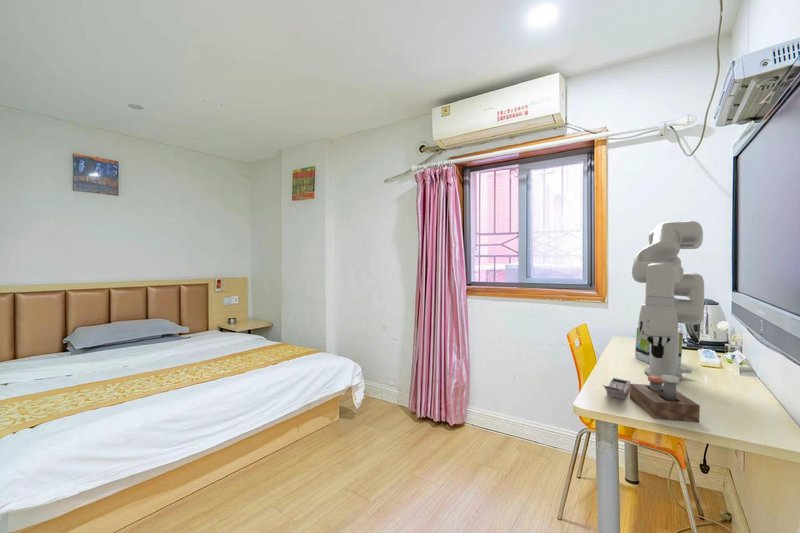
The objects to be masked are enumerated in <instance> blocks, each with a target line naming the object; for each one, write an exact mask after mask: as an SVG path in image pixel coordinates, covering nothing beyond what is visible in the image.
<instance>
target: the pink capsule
mask: <svg viewBox="0 0 800 533" xmlns="http://www.w3.org/2000/svg"><path fill="white" fill-rule="evenodd" d="M647 381H649V385H650V390H651V391H658V392H662V386H663V385H664V381H663V380H661V377H660V376H654V375H647Z"/></svg>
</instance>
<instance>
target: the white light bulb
mask: <svg viewBox="0 0 800 533" xmlns="http://www.w3.org/2000/svg"><path fill="white" fill-rule="evenodd" d="M661 380H663V381H664V383H663V384H662V386H663V399H664V400H665V401H676V391H677V385H678V384H679V383H680V380H679V377H676V376H673V375H667V374H663V375H661Z"/></svg>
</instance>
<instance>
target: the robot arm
mask: <svg viewBox="0 0 800 533" xmlns="http://www.w3.org/2000/svg"><path fill="white" fill-rule="evenodd" d="M703 240H704V230H703V227H702V225H701V224H700V223H699V222H698V221H695V220H694V221H693V220H685V221H684V220H683V221H681V220H680V221H679V220H678V221H665V222H662V223H659V224H657V226H655V228H654V229H653V230H651V231H650V232H649V233H648V243H649V245H647V246H646V247H644V248H643V249H641V250H640V251H638V252H637V254H635V257H634V260H633V264H632V269H631V275H632V278H633V281H635V282H637V283H640V284H645V300H644V302H645V304H644V303H642V304H641V307H640V312H639V317H638V323H637V326H638V327H637V328H638V331H639V332H640V335H639V337H640V338H642V339H645V340H648V341H649V342H650V358H649V363H648V364H649V367H647V368H645V369H644V374H645V375H647V376H649V375H654V376H660V377H661V375H663V374H667V375H673V376H676V377H679V381H680V380H683V378H684V377H683V375H682V374H684V373H685V374H693V371H692V368H687V367H684V366H680V365H679V364H678V356H679V333H678V332H679V324H684V325H700V324H701V323H702V322H703V320H704V313H705V312H704V311H705V280H704V277H703V276H702V275H701V274H700V273H696V272H685V271H684V268H683V266H682V260H681V258H680V257H679V256H678V255H679V253H680V251H681V250H696V249H699V248H700V247H701V246H702V244H703ZM678 297H686V298H688V299H685V298H684V299H683V298H682V299H681V298H678Z"/></svg>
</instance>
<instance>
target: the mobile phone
mask: <svg viewBox="0 0 800 533" xmlns="http://www.w3.org/2000/svg"><path fill="white" fill-rule="evenodd" d="M630 384H631V380H629V379H628V380H627V379H625V378H624V379H623V378H617V377H613V378H612V379H611V380H610V382H609V383H608V385H605V384H602V386H603V388H604V389H605V391H606V395H607V396H609V397H613V398H618V399H622V400H624V399H625V398H626V396H627V394H628V392H629V391H630Z"/></svg>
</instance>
